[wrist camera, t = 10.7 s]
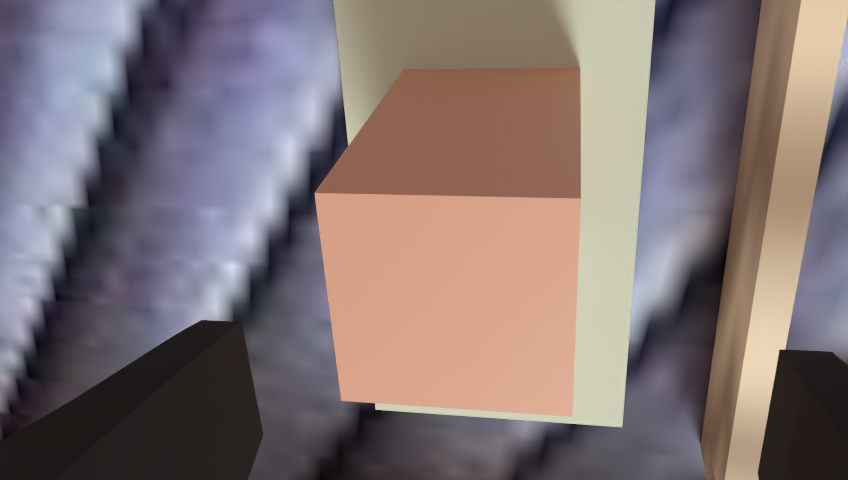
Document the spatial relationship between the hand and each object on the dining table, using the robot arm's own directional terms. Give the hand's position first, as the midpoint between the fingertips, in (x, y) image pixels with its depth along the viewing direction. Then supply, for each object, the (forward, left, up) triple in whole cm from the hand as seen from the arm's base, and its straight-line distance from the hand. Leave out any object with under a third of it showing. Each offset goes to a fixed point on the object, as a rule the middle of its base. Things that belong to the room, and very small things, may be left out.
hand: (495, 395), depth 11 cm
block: (0, +1, -9) cm, 9 cm away
